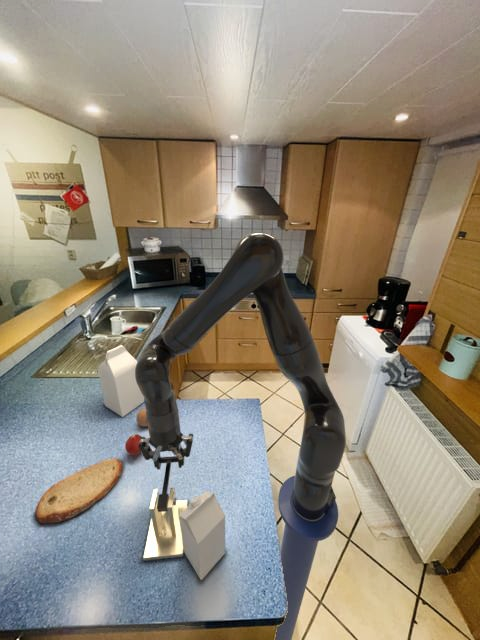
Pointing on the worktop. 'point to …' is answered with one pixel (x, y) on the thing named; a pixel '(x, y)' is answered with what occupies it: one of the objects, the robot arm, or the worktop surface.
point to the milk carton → (203, 532)
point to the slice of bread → (78, 491)
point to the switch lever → (165, 484)
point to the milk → (119, 381)
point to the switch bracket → (165, 529)
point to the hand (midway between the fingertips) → (170, 465)
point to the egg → (142, 417)
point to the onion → (133, 445)
